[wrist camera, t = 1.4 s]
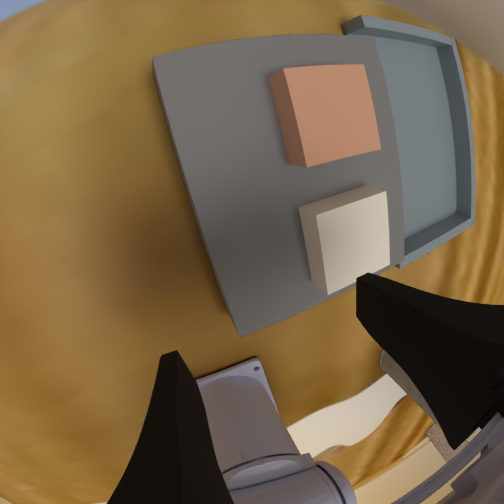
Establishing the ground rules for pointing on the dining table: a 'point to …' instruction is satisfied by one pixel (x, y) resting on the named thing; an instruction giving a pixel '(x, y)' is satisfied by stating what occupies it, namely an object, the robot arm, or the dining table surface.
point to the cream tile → (346, 236)
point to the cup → (443, 442)
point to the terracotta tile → (324, 112)
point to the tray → (426, 130)
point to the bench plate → (266, 166)
